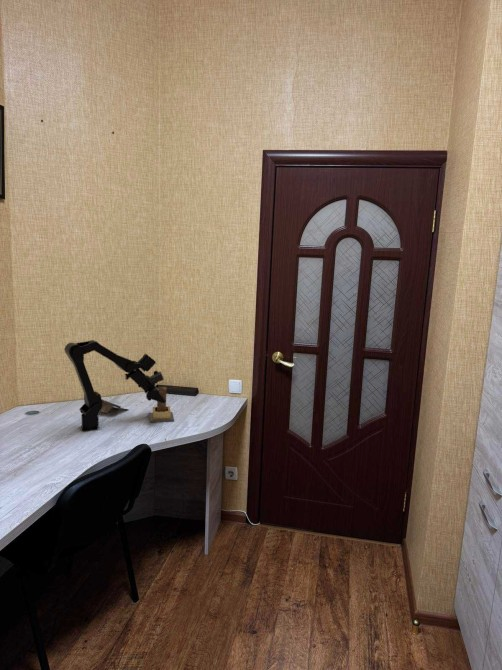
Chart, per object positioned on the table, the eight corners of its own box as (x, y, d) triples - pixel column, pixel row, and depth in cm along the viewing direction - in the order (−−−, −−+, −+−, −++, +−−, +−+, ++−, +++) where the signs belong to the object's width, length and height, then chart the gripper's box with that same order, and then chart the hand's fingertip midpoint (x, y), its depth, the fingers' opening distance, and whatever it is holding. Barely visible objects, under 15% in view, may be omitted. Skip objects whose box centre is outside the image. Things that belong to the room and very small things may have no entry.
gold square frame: (150, 422, 210) (150, 413, 210) (149, 414, 221) (149, 406, 220) (174, 421, 213) (174, 412, 212) (172, 413, 223) (172, 405, 223)
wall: (95, 414, 230) (80, 402, 217) (104, 399, 233) (90, 386, 221) (120, 425, 224) (107, 413, 211) (130, 409, 227) (117, 397, 215)
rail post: (157, 416, 214) (157, 389, 212) (157, 413, 218) (157, 387, 216) (165, 415, 215) (166, 389, 213) (165, 413, 219) (165, 386, 217)
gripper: (154, 371, 203) (178, 394, 207) (152, 362, 221) (175, 384, 225) (136, 389, 202) (160, 411, 207) (136, 378, 220) (158, 399, 225)
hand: (164, 401), depth 216 cm, fingers closed on rail post, 4 cm apart
